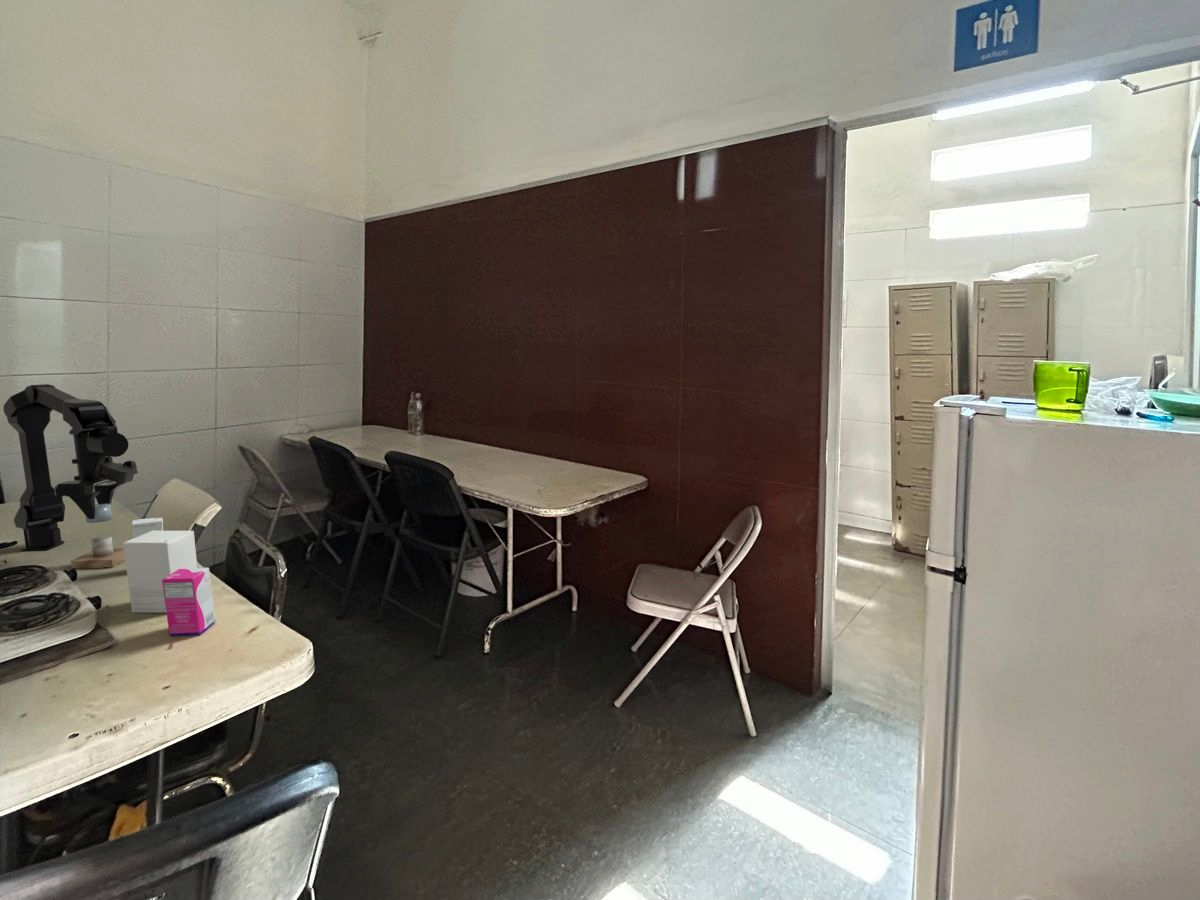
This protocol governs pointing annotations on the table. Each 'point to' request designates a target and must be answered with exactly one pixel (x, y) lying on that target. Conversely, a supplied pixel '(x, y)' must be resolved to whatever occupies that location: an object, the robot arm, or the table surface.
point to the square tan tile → (100, 555)
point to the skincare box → (146, 526)
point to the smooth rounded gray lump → (101, 513)
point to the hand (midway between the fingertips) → (98, 516)
